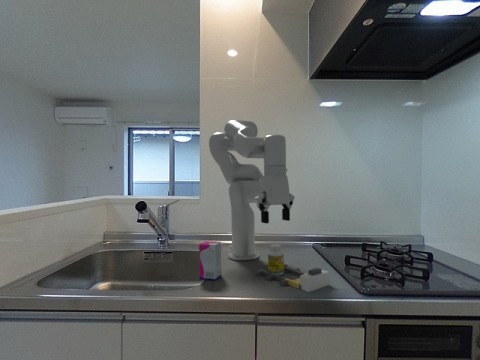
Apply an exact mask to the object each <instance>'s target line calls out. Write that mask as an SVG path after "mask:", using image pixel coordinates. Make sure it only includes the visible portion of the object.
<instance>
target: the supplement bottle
mask: <svg viewBox="0 0 480 360" xmlns="http://www.w3.org/2000/svg"><path fill="white" fill-rule="evenodd" d="M282 249H283V248H282V244H280V243H279V244H278V243H272V244H269V251H268V252H267V271H268V272H270V273H273V274H276V275H279V276H281V275H283V274H284V273H285V271H284V265H285V262H284V261H285V256H284V251H283V250H282Z"/></svg>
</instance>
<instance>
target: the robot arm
mask: <svg viewBox="0 0 480 360" xmlns="http://www.w3.org/2000/svg"><path fill="white" fill-rule="evenodd" d="M258 129H259V128H258V126H257V124H256V123H255V122H253V121H251V120H239V119H231V120H229V121H227V123H225V125H224V128H223V130H224V131H223V132H222V131H221V132H214V133H213V134H212V135H210V136H209V140H208V146H209V151H210V155H211V156H212V158H213V160H214V161H215V162H216V164H217V165H218V166H219V168H220V172H221V173H222V175H223V177H224V179H225V181H226V183H227V184H228V185H229V187H228V196H229V200H230V201H229V202H230V210H231V212H230V213H231V245H228V249H230V252H229V253H228V256H227V257H228V259H231V260H234V261H251V260H252V261H253V260H256V259H258V258H259V257H260V255H259V253H258V252H257V251H256V245H255V244H256V243H255V242H256V241H255V240H256V237H255V236H256V235H255V233H256V232H255V231H256V230H255V227H256V225H255V223H256V222H255V212H254V209H253V208H252V206H251V205H250V204H256V207H257V208H258V209H259V211H260V216H261V217H260V222H261V223H263V224H269V223H270V214H269V213H270V212H269V209H270V206H277V205H281V206H282V209H281V220H282V221H287V222H289V221H290V220H291V209H292V206H293V204H294V200H295V196H294V195H293V194H292V193H290V186H289V184H290V183H289V179H288V175H287V172H288V168H287V147H286V145H287V144H286V143H287V142H286V141H287V140H286V137H285V135H282V134H269V135H266V136H264V137H258V133H259V132H258V131H259V130H258ZM232 152H236V153H237V154H239V155H240V156H242V157H243V158H246V159H263V173H262V172H261V170H260V169H259V167H258V166H257V165H255V164H251V163H250V164H249V163H240V162H239V161H238V160H237V158H236V156H235V155H234V154H232Z"/></svg>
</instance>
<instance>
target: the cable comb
mask: <svg viewBox="0 0 480 360" xmlns="http://www.w3.org/2000/svg"><path fill="white" fill-rule="evenodd" d="M284 272H286V273H288V274H292V275H295V276H298V277H299V278H295V279H290V278H288V277H287V278H286V277H284V276H281V275H276V274H273V273H270V272H268V270H265V269H262V268H258V269H257V271H255V276H257V277H258V276H265V277H267V278H266V279H267V281H273V280H275V281H278V282H280V285H279V286H281V287H284V286H286V285H288V286H291V287H294V288H296V289H299V290H301V291H304V292H307V293H310V292H313V291H316V290H319V289H322V288H324V287H327V286H330V271H327V270H324V269H322V268H320V267H315V268H311V269H308V273H307V272H302V271H301V268H299V267H298V268H290V267H288V264H287V263H286V264H285V263H284Z"/></svg>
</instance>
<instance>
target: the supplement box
mask: <svg viewBox="0 0 480 360" xmlns="http://www.w3.org/2000/svg"><path fill="white" fill-rule="evenodd" d="M198 253H199V254H198V258H199V259H198V261H199V262H198V263H199V270H198V271H199V272H198V273H199V277H198V278H199V280H201V281H202V280H204V281H213V282H214V281H215V282H216V281H217V280H218V279H219V278H221V276H222V243H221V241H212V240H211V241H210V240H209V241H207V240H206V241H204V242H202V243H199V244H198Z"/></svg>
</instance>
